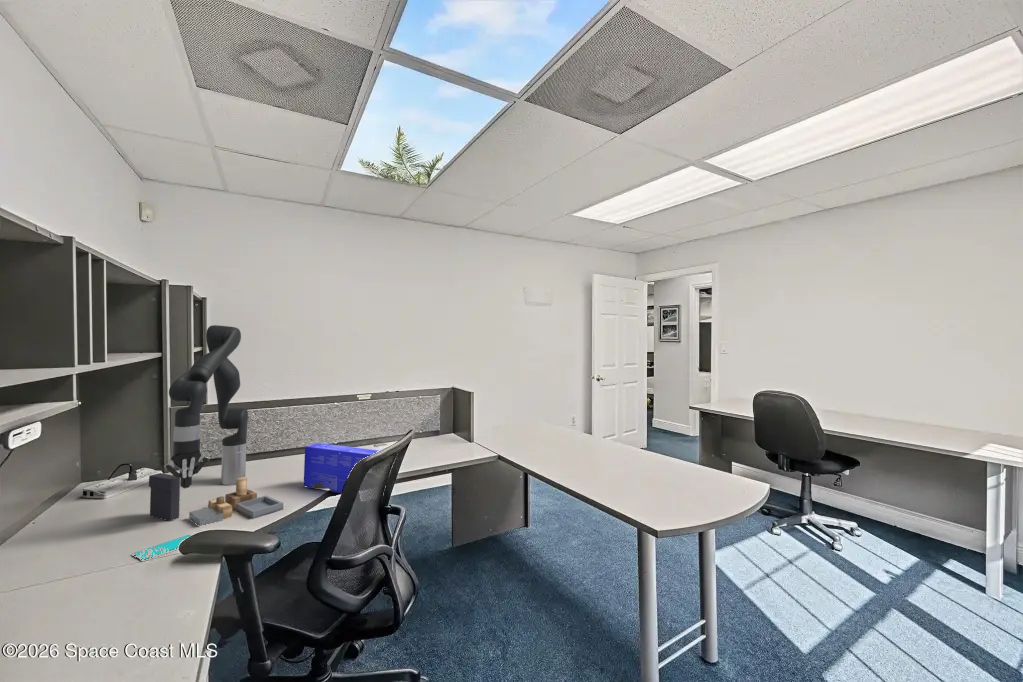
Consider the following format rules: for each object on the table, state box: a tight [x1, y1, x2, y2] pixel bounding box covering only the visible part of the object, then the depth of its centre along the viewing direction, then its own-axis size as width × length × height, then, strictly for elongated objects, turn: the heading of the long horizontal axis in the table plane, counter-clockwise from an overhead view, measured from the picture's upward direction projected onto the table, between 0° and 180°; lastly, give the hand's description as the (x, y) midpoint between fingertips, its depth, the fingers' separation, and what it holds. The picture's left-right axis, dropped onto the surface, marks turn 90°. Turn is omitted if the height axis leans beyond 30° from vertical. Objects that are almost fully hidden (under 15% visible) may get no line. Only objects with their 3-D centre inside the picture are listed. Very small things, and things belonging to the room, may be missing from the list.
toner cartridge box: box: [303, 442, 379, 494], centre depth 186 cm, size 39×8×18 cm, turn 70°
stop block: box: [207, 496, 233, 520], centre depth 158 cm, size 12×3×6 cm, turn 56°
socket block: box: [224, 488, 258, 510], centre depth 168 cm, size 8×8×4 cm
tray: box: [235, 495, 284, 520], centre depth 163 cm, size 13×11×2 cm
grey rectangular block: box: [188, 507, 224, 527], centre depth 153 cm, size 10×7×3 cm
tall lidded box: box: [148, 472, 181, 521], centre depth 154 cm, size 11×4×15 cm, turn 71°
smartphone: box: [134, 534, 191, 560], centre depth 132 cm, size 7×1×15 cm
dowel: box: [235, 476, 248, 497], centre depth 168 cm, size 4×4×10 cm
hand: (185, 487), depth 149 cm, fingers closed
